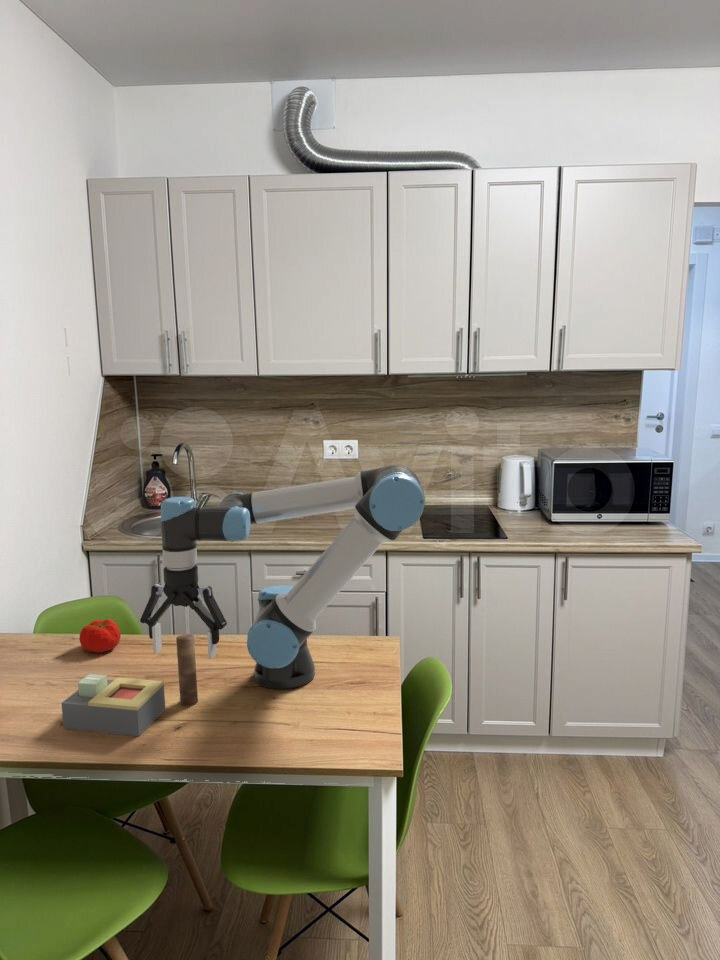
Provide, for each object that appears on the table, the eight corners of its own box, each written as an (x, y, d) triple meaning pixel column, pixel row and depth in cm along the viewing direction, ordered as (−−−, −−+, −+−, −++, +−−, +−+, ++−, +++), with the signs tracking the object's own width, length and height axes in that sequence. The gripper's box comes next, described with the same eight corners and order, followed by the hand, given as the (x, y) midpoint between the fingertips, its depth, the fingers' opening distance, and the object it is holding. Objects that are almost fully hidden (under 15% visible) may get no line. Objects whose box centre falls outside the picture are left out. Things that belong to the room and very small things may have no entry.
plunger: (144, 700, 160) (144, 690, 159) (132, 712, 154) (131, 702, 154) (122, 698, 161) (121, 688, 161) (108, 710, 156) (107, 700, 155)
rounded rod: (200, 698, 167) (196, 634, 165) (193, 706, 164) (189, 641, 161) (185, 697, 168) (181, 633, 165) (177, 705, 164) (173, 640, 162)
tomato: (98, 660, 189) (95, 633, 188) (72, 651, 195) (70, 625, 194) (130, 646, 198) (128, 620, 197) (105, 638, 204) (103, 613, 203)
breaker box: (165, 708, 163) (163, 681, 162) (139, 736, 151) (136, 706, 150) (94, 702, 167) (92, 675, 165) (63, 728, 155) (61, 699, 154)
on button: (108, 692, 161) (106, 675, 160) (97, 701, 156) (95, 684, 156) (90, 690, 162) (89, 673, 161) (79, 699, 157) (77, 682, 157)
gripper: (238, 564, 161) (241, 651, 165) (138, 557, 166) (143, 643, 170) (226, 574, 154) (229, 665, 158) (121, 567, 159) (127, 656, 163)
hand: (184, 654), depth 164 cm, fingers open, 13 cm apart
